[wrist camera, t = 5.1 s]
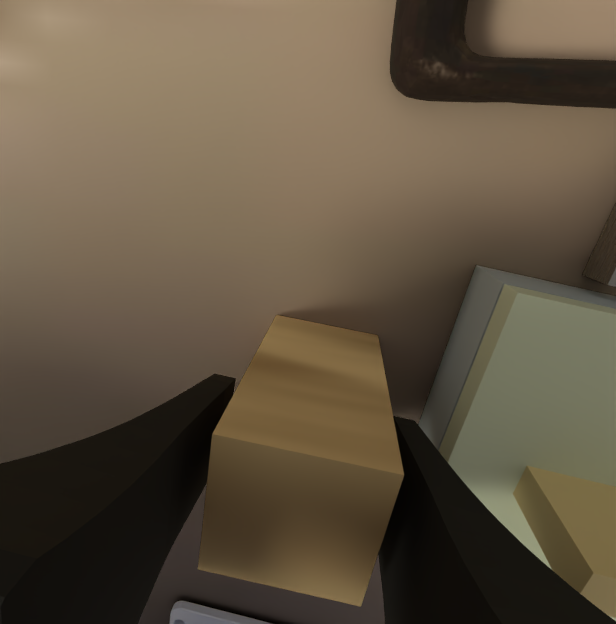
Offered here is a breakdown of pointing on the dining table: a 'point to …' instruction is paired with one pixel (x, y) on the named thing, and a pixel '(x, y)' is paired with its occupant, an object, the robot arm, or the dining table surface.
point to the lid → (546, 434)
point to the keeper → (604, 255)
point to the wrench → (484, 65)
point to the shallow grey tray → (481, 338)
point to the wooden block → (304, 465)
